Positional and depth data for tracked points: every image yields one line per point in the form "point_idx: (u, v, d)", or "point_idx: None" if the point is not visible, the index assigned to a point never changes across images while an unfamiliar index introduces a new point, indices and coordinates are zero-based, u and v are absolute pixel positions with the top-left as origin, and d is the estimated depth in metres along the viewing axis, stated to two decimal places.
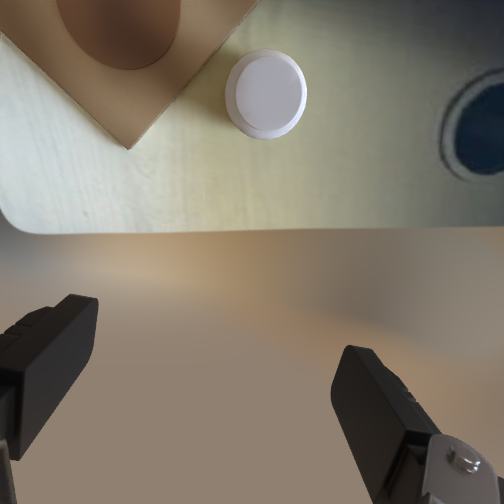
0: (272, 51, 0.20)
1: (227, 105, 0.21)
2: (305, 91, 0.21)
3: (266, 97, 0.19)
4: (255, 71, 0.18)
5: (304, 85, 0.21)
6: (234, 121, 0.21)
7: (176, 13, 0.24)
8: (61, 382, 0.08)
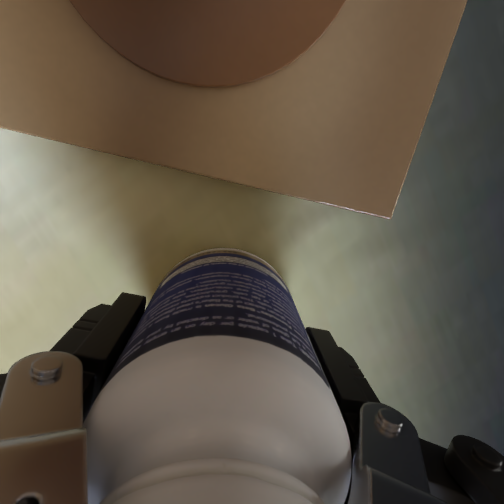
0: (339, 435, 0.06)
1: (103, 409, 0.05)
2: None
3: None
4: None
5: None
6: None
7: (262, 66, 0.10)
8: None
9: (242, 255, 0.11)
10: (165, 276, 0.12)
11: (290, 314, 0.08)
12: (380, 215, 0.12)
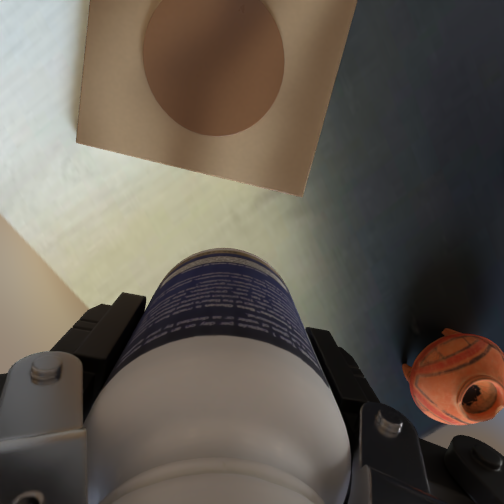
0: (339, 434, 0.06)
1: (104, 409, 0.06)
2: None
3: None
4: None
5: None
6: None
7: (239, 127, 0.22)
8: None
9: (242, 255, 0.11)
10: (165, 276, 0.12)
11: (290, 314, 0.08)
12: (297, 195, 0.24)
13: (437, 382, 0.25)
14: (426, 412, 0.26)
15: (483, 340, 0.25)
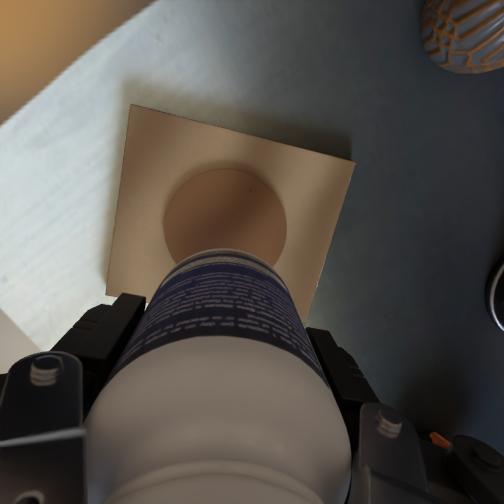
0: (339, 435, 0.06)
1: (103, 409, 0.05)
2: None
3: None
4: None
5: None
6: None
7: None
8: None
9: (242, 255, 0.11)
10: (165, 276, 0.12)
11: (290, 314, 0.08)
12: None
13: None
14: None
15: None
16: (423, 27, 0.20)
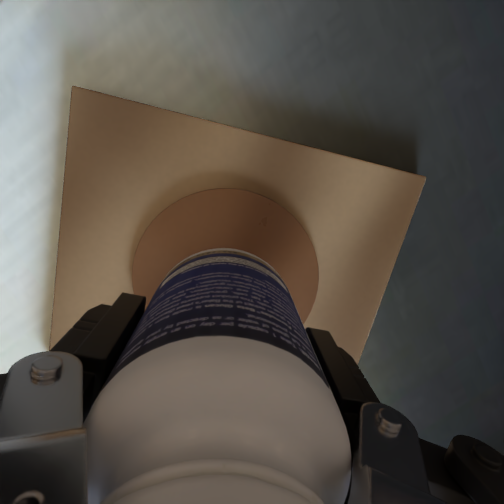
0: (339, 435, 0.06)
1: (103, 409, 0.05)
2: None
3: None
4: None
5: None
6: None
7: None
8: None
9: (242, 255, 0.11)
10: (165, 276, 0.12)
11: (290, 314, 0.08)
12: None
13: None
14: None
15: None
16: None
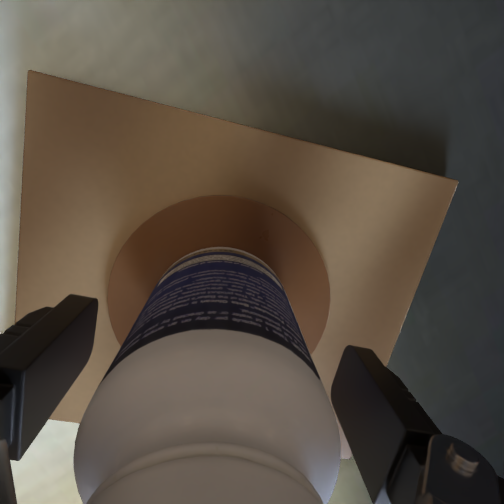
0: (328, 423, 0.06)
1: (103, 399, 0.06)
2: None
3: None
4: None
5: None
6: (78, 440, 0.06)
7: None
8: (61, 382, 0.08)
9: (238, 254, 0.12)
10: (163, 274, 0.12)
11: (283, 310, 0.09)
12: (342, 457, 0.16)
13: None
14: None
15: None
16: None
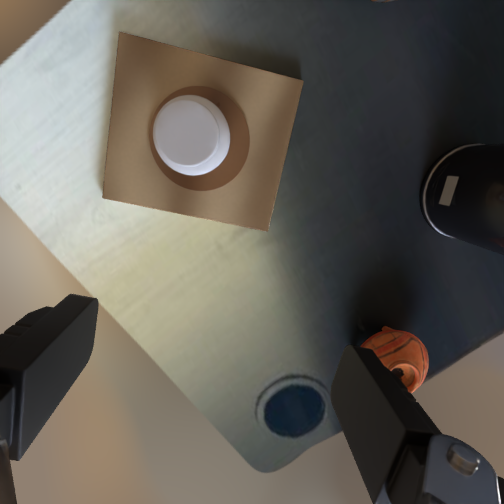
0: (223, 119, 0.22)
1: (162, 108, 0.22)
2: (215, 164, 0.23)
3: (183, 132, 0.20)
4: (195, 111, 0.20)
5: (219, 160, 0.23)
6: (155, 122, 0.22)
7: (218, 184, 0.31)
8: (61, 381, 0.08)
9: None
10: None
11: None
12: (263, 230, 0.33)
13: None
14: None
15: (406, 334, 0.34)
16: None
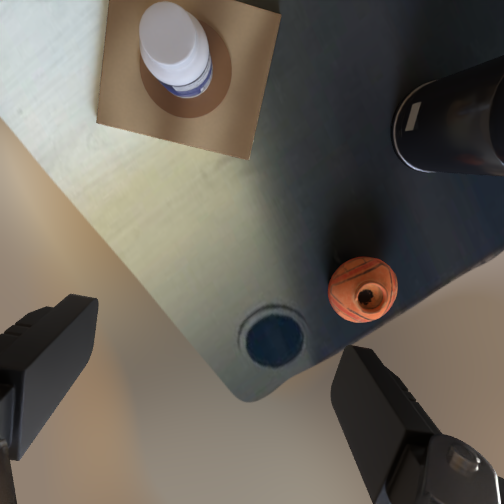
0: (202, 30, 0.25)
1: None
2: (195, 73, 0.26)
3: (164, 32, 0.23)
4: (174, 12, 0.23)
5: (198, 69, 0.26)
6: None
7: (203, 112, 0.33)
8: (61, 382, 0.08)
9: None
10: None
11: None
12: (245, 158, 0.35)
13: (342, 287, 0.36)
14: (339, 313, 0.38)
15: (376, 260, 0.37)
16: None
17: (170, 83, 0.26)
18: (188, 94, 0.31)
